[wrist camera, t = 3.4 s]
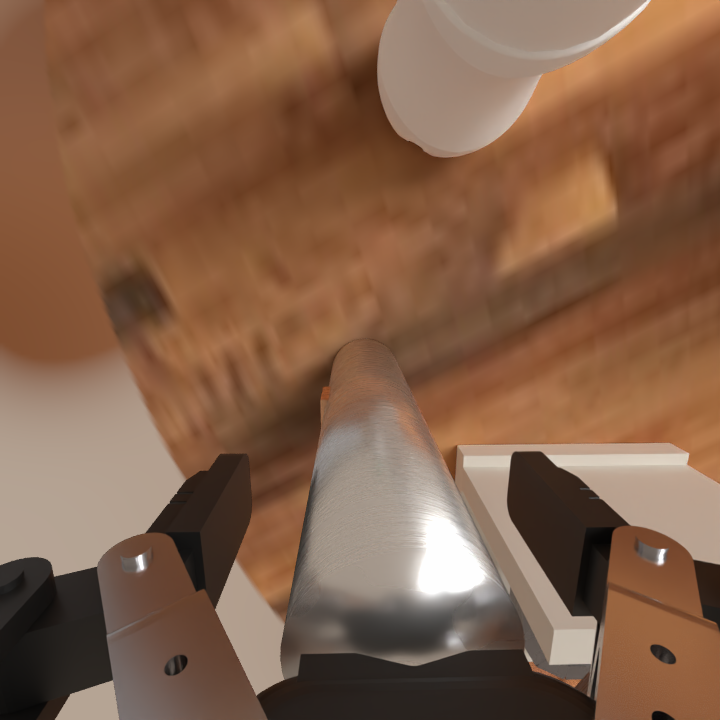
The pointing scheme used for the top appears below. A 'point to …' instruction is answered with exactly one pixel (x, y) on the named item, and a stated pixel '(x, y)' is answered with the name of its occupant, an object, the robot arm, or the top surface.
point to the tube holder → (613, 485)
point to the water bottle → (481, 62)
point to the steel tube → (388, 534)
